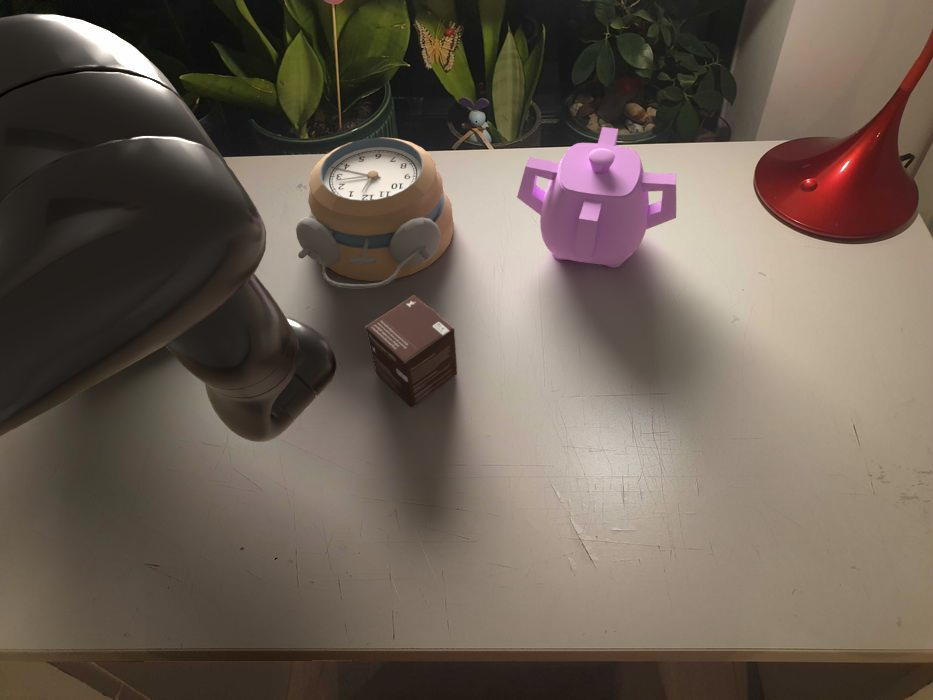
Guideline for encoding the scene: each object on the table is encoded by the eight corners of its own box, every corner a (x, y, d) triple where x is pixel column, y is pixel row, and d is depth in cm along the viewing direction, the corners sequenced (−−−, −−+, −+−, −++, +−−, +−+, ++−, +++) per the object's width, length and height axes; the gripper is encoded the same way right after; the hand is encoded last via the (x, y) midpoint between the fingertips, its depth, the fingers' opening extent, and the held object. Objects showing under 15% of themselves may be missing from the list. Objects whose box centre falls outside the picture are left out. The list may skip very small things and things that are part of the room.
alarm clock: (454, 122, 77) (437, 259, 63) (458, 187, 84) (444, 323, 70) (311, 123, 78) (263, 258, 64) (327, 187, 86) (287, 320, 71)
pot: (532, 184, 84) (535, 99, 75) (672, 201, 81) (693, 115, 72) (500, 282, 73) (500, 198, 64) (660, 307, 70) (684, 221, 61)
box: (374, 373, 66) (362, 325, 60) (421, 341, 69) (413, 292, 63) (412, 410, 63) (403, 363, 57) (459, 375, 66) (455, 327, 60)
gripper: (219, 219, 63) (129, 153, 70) (78, 304, 56) (-4, 223, 64) (243, 275, 68) (158, 209, 76) (118, 358, 62) (39, 278, 70)
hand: (84, 216), depth 70 cm, fingers closed on cup, 6 cm apart
